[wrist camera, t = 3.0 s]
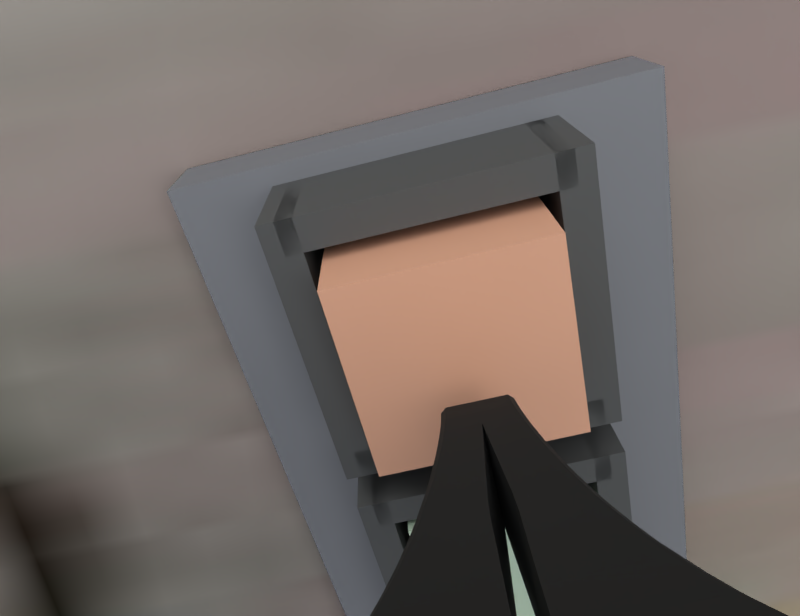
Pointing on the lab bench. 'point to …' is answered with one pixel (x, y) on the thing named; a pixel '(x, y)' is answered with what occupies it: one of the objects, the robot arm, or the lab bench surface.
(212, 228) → the button panel
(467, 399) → the terracotta button
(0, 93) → the lab bench surface
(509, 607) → the robot arm
